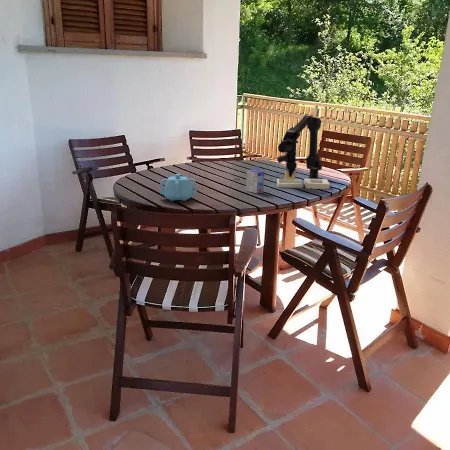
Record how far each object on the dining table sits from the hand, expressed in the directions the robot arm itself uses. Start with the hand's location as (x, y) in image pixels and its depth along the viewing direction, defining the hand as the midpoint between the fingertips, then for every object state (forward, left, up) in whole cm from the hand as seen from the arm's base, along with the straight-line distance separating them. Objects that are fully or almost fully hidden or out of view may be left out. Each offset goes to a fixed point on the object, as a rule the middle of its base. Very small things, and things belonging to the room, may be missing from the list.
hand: (290, 176), depth 276 cm
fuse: (0, 0, -2) cm, 2 cm away
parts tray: (0, 0, -6) cm, 6 cm away
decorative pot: (+41, -62, -6) cm, 75 cm away
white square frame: (0, +16, -6) cm, 17 cm away
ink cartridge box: (+19, -21, -6) cm, 29 cm away
